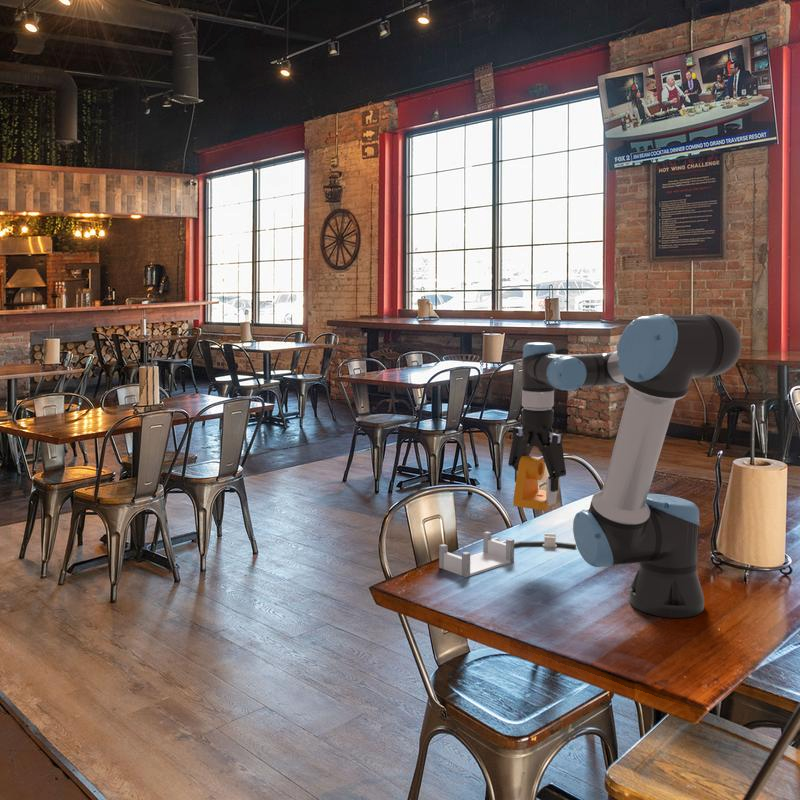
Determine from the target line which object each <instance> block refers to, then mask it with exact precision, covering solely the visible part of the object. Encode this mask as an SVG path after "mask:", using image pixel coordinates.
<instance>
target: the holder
mask: <svg viewBox="0 0 800 800" xmlns="http://www.w3.org/2000/svg"><path fill="white" fill-rule="evenodd" d="M482 536H483V537H482V539H483V542H482V543H483V544H482V546H483V547H482V548H483V551H480V552H478V553H475V554H472V555H471V552H469V551H463V552H461V556H460V555H458V554H454V553H452V552H449V551H448V548H449V547H448V545H447V544H444V543H443V544H438V545H439V546H438V549H439V550H438V555H439V557H438V559H439V561H438V563H439V564H438V567H439V568H440V569H442V570H445V571H447V572H450V573H454V574H455V575H458V576H460V577H463V578H468V577H472V576H476V575H478V574H481V573H484V572H486V571H490V570H493V569H496V568H499V567H502V566H503V567H504V566H505V565H509V564H511V563H514V562H515V547H514V542H515V538H514V539H513V538H507V539H505V540H506V543H503V542H501V541H500V540H499V541H496V540H493V539H494V538H492V531H491V532H490V531H484V532H483V534H482Z"/></svg>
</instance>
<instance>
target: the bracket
mask: <svg viewBox="0 0 800 800" xmlns="http://www.w3.org/2000/svg"><path fill="white" fill-rule="evenodd" d="M545 469H546V464H545V461H544V458H543V457H540V456H530V455H529V456H522V457H521V459H520V461H519V466H518V472H517V478H516V482H515V486H514V490H513V491H514V494H513V499H512V501H513V502H512V503H513V506H512V507H517V508H524V509H531V510H537V511H545V512H546V511H548V510H549V509H551V508H552V507H554V506H555V504H552V505H546V489H539V481H541V480H542V479H543V477H544V476H545ZM557 492H558V491H556V502H557V499H558V493H557Z"/></svg>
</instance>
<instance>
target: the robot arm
mask: <svg viewBox="0 0 800 800" xmlns="http://www.w3.org/2000/svg"><path fill="white" fill-rule="evenodd" d="M742 348H743V344H742V338H741V334H740V332H739V331H738V329H737V327H736V326H735V325H734V324H733V323H732V321H730V320H728V319H727V318H725V317H723V316H721V315H717V314H711V313H699V314H697V313H695V314H693V313H692V314H665V313H657V314H652V315H645V316H644V315H643V316H640V317H637V318H635V319H633V320H632V321H631V322H630V323H629V324H627V326H625V329H623V331H622V333H621V335H620V338H619V340H618V343H617V350H614V351H612V352H611V351H609V352H604V353H583V354H580V353H579V354H557V352H556V346H555V344H554V343H551V342H541V341H538V342H537V341H535V342H527V343H525V344H524V345H523V348H522V358H521V361H522V362H521V363H522V367H521V371H522V374H521V376H522V377H521V379H522V380H521V382H522V384H521V385H522V388H521V392H522V393H521V406H522V407H523V408H522V409H521V423H522V426H516V427H513V428H512V436H513V437H512V443H511V445H510V446H511V447H510V453H509V459H508V462H507V463H508V466H509V467H512V468H513V469H514V482H515V483H516V478H517V472H518V466H519V461H520V459H521V457H522V456H530V454H531V452H532V450H533V448H534V447H536V448H538V451H539V452H541V456H542V458H543V459H544V462H545V468H546V470H547V472H548V476H547V477H546V489H545V490H546V505H552V504H554V505H556V504H557V501H556V492H558V491H559V481H560V480H559V479H560V478H561V477H564V476H566V475H567V470H566V464H565V456H564V449H563V439H564V435H563V434H562V433H558V434H557V433H554V432H553V427H552V426H553V425H554V420H555V419H554V418H555V417H554V416H555V413H554V412H555V411H554V409H553V407H554V405H555V389H556V390H559V391H568V392H569V391H575V390H577V389H579V388H593V387H610V386H611V387H612V386H614V387H619V386H627V387H628V392H627V393H628V394H627V397H626V400H625V404H624V408H623V411H622V415H621V418H620V419H621V420H620V423H619V426H618V430H617V434H616V439H615V441H614V445H613V447H612V448H613V449H612V453H611V456H610V461H609V465H608V468H607V471H606V474H605V479H604V482H603V486H602V489H601V490H599V491H597V492H595V493H593V495H592V498H591V501H590V505H589V509H582V510H581V511H578V512H577V513H575V516H574V518H573V522H572V532H573V538H574V542H575V544H576V549H577V551H578V552H579V554H580V556H581V557H582V559H583V560H584V562H586V563H587V564H588V565H590V566H591V567H593V568H613V567H615V566H622V565H629V564H638V568H637V571H636V574H635V575H634V578H633V581H632V583H631V586H630V587H629V596H628V597H629V599H628V600H629V603H630V605H631V606H632V607H633V608H635V609H636V610H638V611H641V612H642V613H645V614H649V615H652V616H656V617H663V618H671V619H672V618H673V619H678V618H679V619H682V618H683V619H684V618H690V617H695V616H698V615H700V614H701V613H703V611H704V610H705V596H704V592H703V589H702V586H701V583H700V579H699V575H698V556H699V555H698V554H699V552H698V550H699V548H698V547H699V534H700V526H701V523H700V509H699V507H698V506H697V504H695V503H694V502H693V501H690V500H688V499H685V498H681V497H678V496H672V495H667V494H661V493H660V494H659V493H650V489H651V485H652V482H653V478H654V476H655V471H656V469H657V465H658V461H659V458H660V456H661V451H662V448H663V445H664V443H665V438H666V436H667V435H666V434H667V431H668V428H669V425H670V421H671V419H672V414H673V411H674V408H675V404H676V401H678V400H681V399H683V398H685V397H686V396H687V395H688V392H689V389H690V385H691V381H692V380H693V379H698V378H709V377H716V376H719V375H722V374H724V373H726V372H728V371H729V370H731V369H732V368H733V367H734V366H735V365H736V363H738V360H739V358H740V356H741V353H742Z"/></svg>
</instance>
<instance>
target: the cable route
mask: <svg viewBox="0 0 800 800" xmlns="http://www.w3.org/2000/svg"><path fill="white" fill-rule="evenodd" d="M556 534H557V533H550V532H544V537H543V538H544V540H542V541H541V540H540V541H539V540H537V541H536V540H533V541H532V540H528V541H526V540H525V541H524V540H523V541H522V540H521V541H514V548H517V547H528V546H529V547H531V546H532V547H533V546H534V547H535V546H537V547H539V546H542V547H543V548H558V547H559V548H568V549H577V546H576V543H568V542H562V541H557V540H556V538H557V537H556V536H557V535H556ZM492 539H493V540H496V541H500V537H495V538H492ZM500 542H503V543H506V539H505V540H502V541H500Z"/></svg>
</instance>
